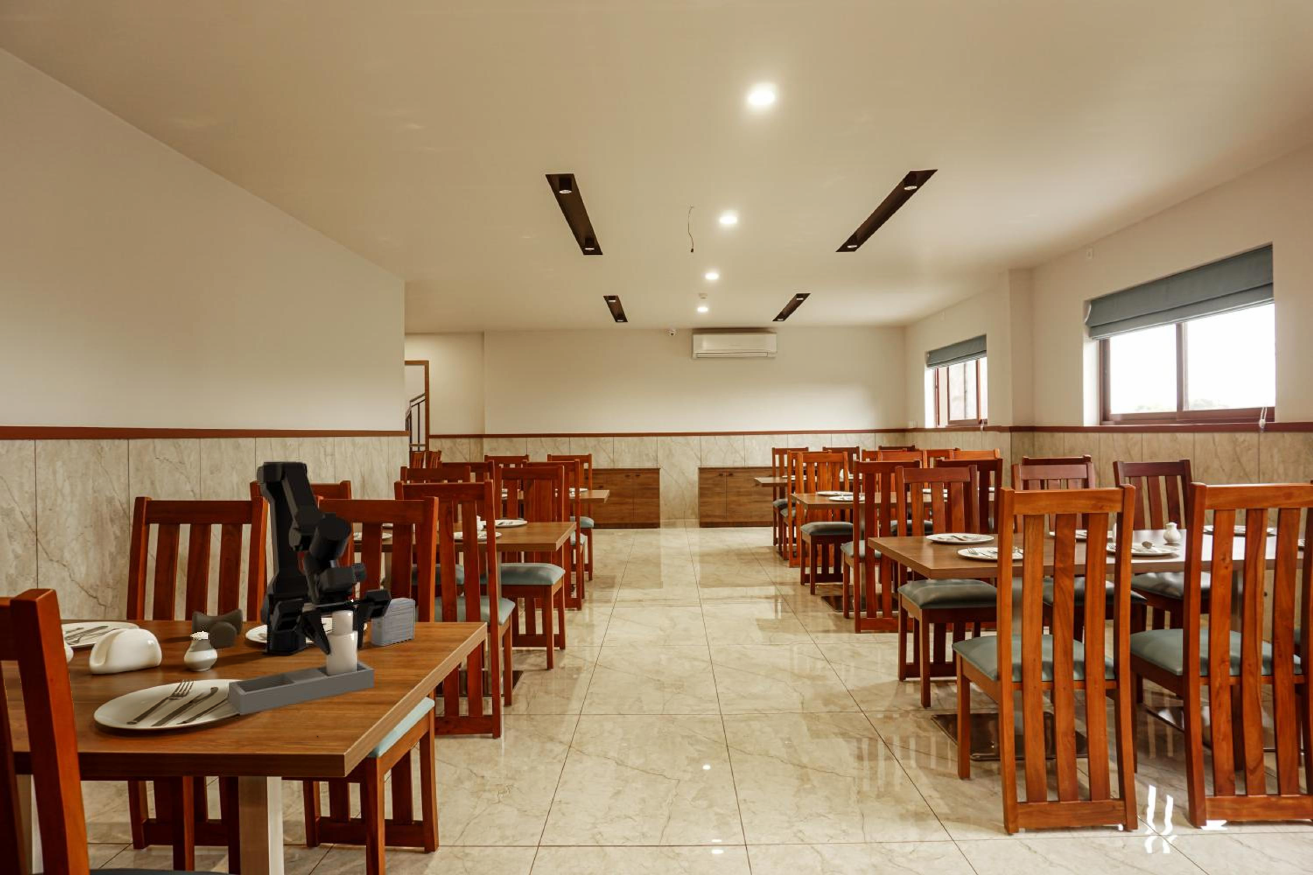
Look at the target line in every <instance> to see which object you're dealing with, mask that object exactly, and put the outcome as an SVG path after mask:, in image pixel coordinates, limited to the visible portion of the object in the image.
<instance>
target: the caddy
mask: <svg viewBox="0 0 1313 875" xmlns="http://www.w3.org/2000/svg"><path fill="white" fill-rule="evenodd" d="M373 688H375V669H374V668H373V667H371V666H369V665H368V664H365V663H364V662H362V661H361V660H359V659H357V671H356V672H350V673H345V674H340V675H335V676H329V677H328V676H326V664H324V665H320V666H314V667H309V668H302V669H298V670H292V671H286V672H281V673H276V674H275V673H274V674H270V675H264V676H259V677H253V678H247V679H242V680H236V681H231V682H228V703H229V704H230V706H231V707H233V709H234V708H235V709H236V710H237V711H238V712H239V713H238V712H237V711H236V710H235V709H234V710H235V711H236V712H237V713H238V714H239V715H240V716H243V715H244V716H245V715H249V714H253V713H258V712H262V711H263V712H264V711H267V710H273V709H278V708H282V707H283V708H284V707H287V706H291V705H297V704H301V703H307V702H312V701H315V700H316V701H317V700H320V699H325V698H330V697H335V696H339V695H344V694H349V693H354V692H358V691H364V690H368V689H373Z"/></svg>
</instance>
